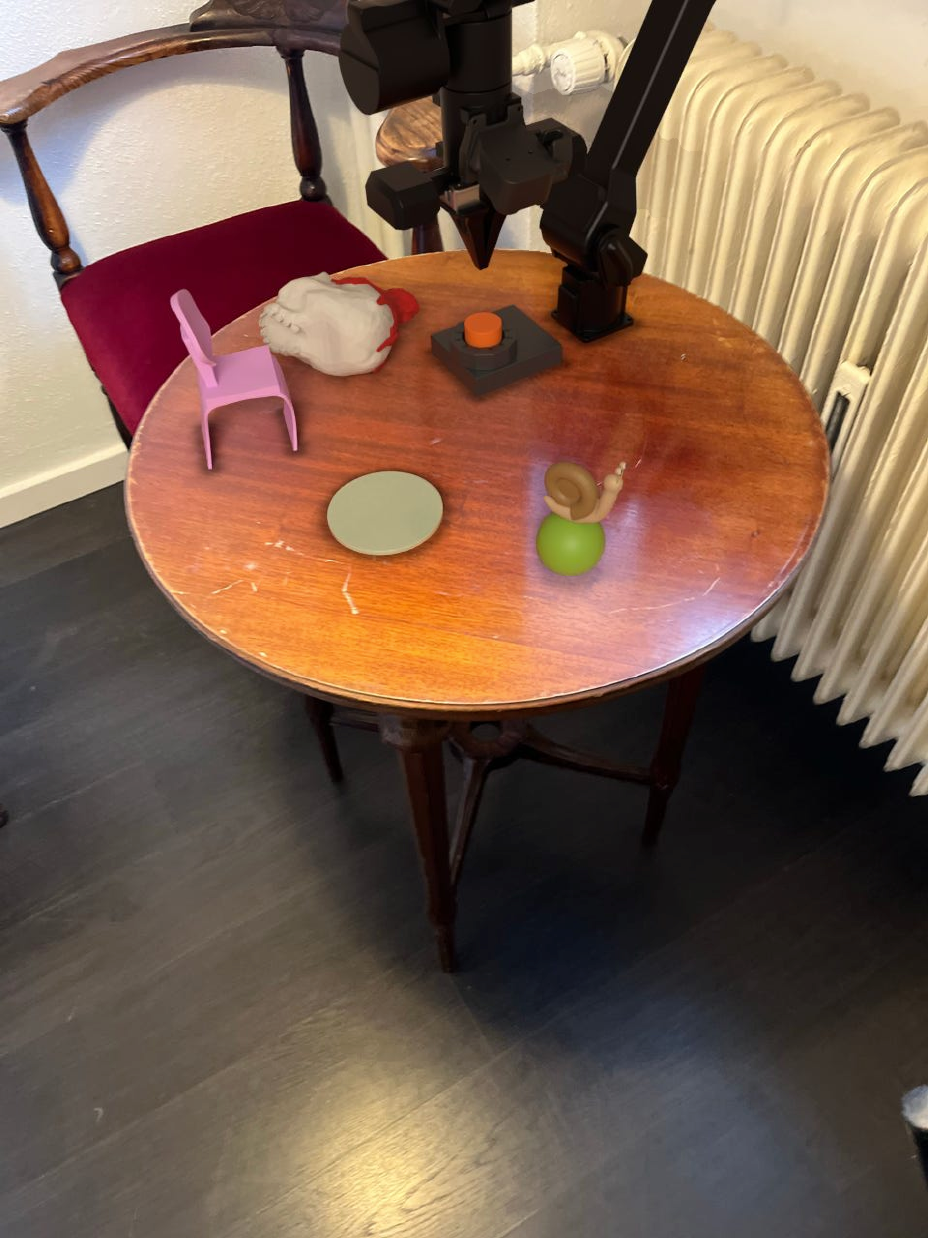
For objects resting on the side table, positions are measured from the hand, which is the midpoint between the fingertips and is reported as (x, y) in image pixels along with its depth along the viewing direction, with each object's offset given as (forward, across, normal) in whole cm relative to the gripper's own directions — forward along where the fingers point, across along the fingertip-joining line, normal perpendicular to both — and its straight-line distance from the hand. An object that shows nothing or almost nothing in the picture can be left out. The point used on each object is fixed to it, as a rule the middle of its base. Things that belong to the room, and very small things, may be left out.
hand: (481, 267), depth 81 cm
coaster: (+11, -18, -13) cm, 25 cm away
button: (+7, 0, 0) cm, 7 cm away
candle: (+11, -10, +9) cm, 18 cm away
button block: (+11, +2, +1) cm, 11 cm away
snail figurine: (+11, -8, -27) cm, 30 cm away
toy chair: (+11, -24, +3) cm, 27 cm away
